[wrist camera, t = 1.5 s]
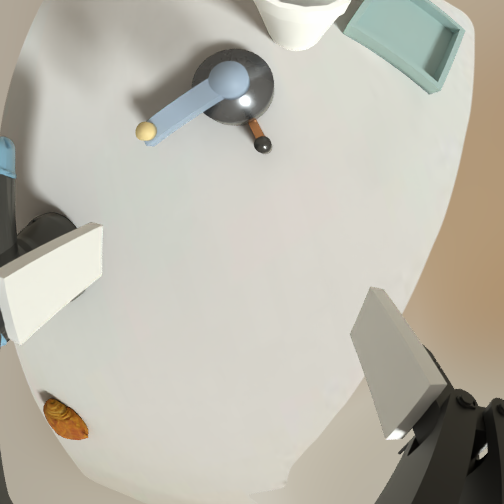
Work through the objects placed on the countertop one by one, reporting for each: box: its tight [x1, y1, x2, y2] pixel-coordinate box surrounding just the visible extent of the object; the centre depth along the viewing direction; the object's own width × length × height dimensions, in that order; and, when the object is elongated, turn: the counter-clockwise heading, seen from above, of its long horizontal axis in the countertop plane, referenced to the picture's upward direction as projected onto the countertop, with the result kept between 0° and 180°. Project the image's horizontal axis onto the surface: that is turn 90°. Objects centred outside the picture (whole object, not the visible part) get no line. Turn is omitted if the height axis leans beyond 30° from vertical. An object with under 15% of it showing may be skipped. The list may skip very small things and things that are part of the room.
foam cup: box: [253, 0, 351, 51], centre depth 20 cm, size 10×9×13 cm
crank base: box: [192, 49, 274, 154], centre depth 26 cm, size 12×10×6 cm
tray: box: [343, 0, 465, 94], centre depth 22 cm, size 14×14×3 cm
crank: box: [136, 61, 250, 146], centre depth 26 cm, size 13×4×3 cm, turn 121°
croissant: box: [43, 399, 88, 440], centre depth 53 cm, size 14×16×8 cm
